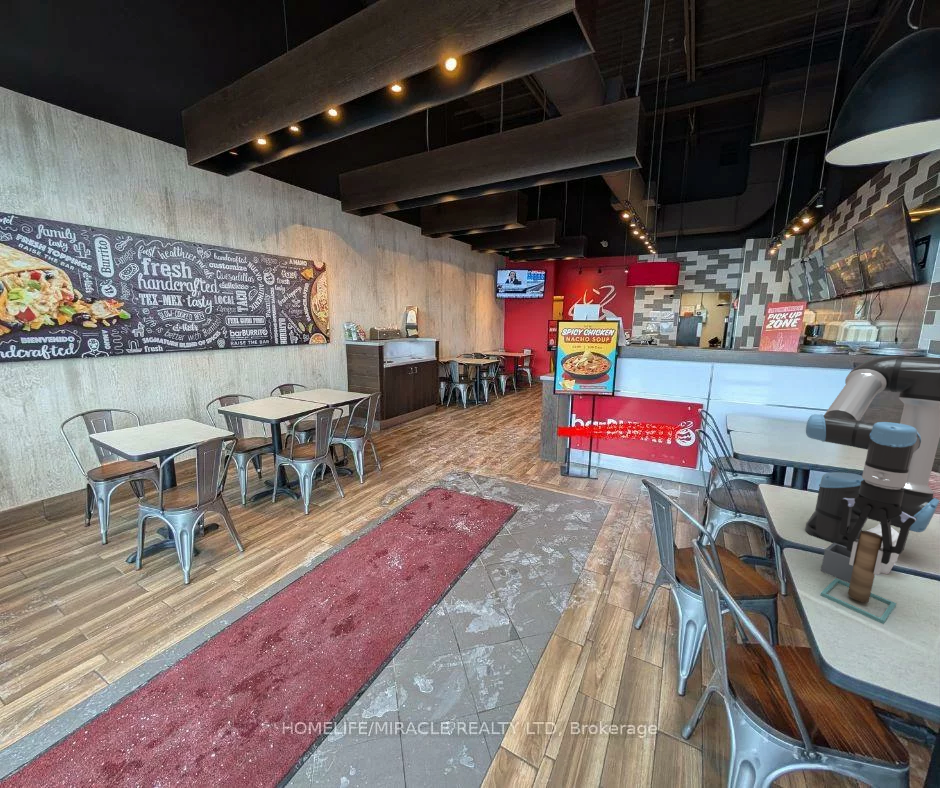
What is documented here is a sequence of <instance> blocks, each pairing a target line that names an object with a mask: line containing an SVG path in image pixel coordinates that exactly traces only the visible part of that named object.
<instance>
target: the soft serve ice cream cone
mask: <svg viewBox="0 0 940 788" xmlns="http://www.w3.org/2000/svg"><path fill="white" fill-rule="evenodd" d="M866 531H869V532H873V533H876V534H878V535H880V536H882V529H881V524H880V523H878V524H877V525H876V526H875V527H871V528H870V529H867V530H866ZM891 535H892V546H896V543H897V539H898V536H899V531H897V530H896V529H894V528H893V526H891ZM881 547H882V548H883V541H882V544H881ZM899 555H900V554H897V553H891V557H890V561H889V562H888V563H887V564H884V563H882V568H881V572H880V573H879V574H887V575H888V574H890V572H891V571H892V569H893V567H894V565H895V564H896V563H897V562H898V559H899Z"/></svg>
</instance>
